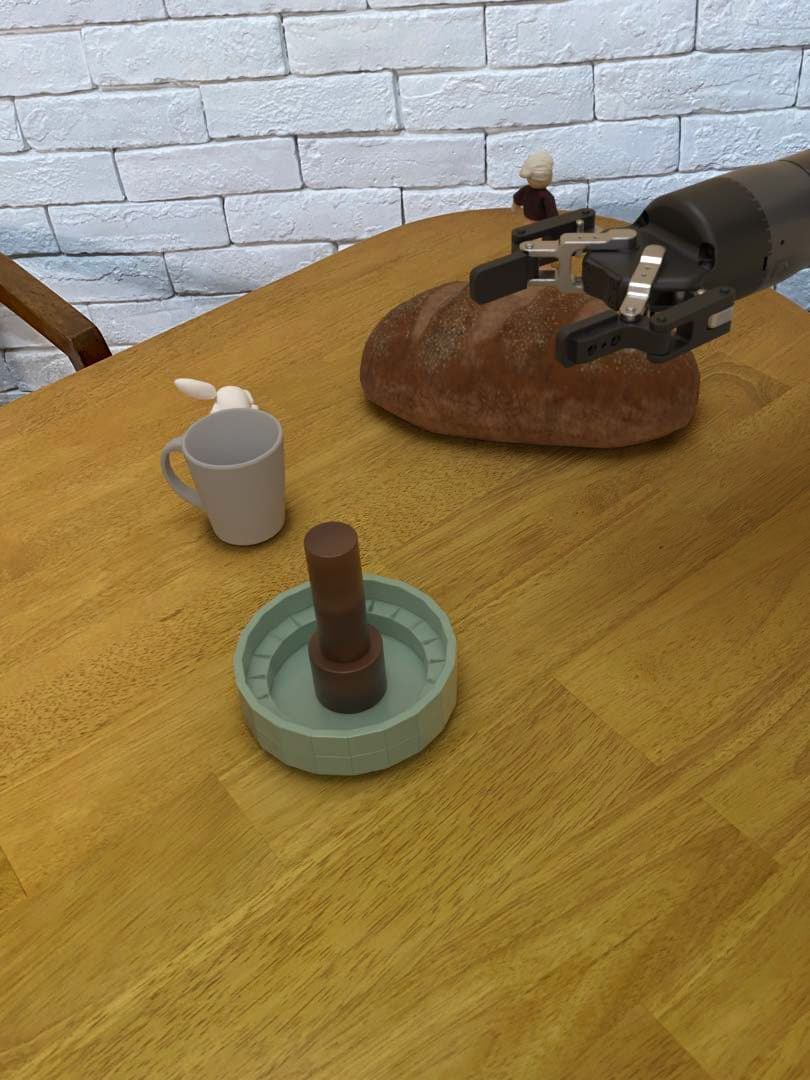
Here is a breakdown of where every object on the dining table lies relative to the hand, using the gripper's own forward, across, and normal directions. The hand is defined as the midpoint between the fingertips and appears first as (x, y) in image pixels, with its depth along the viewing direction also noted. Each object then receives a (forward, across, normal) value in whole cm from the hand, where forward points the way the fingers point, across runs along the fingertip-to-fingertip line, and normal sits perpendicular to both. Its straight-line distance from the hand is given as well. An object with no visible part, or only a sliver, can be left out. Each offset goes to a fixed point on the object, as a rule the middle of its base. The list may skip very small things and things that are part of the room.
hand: (514, 318), depth 64 cm
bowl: (+13, 0, +24) cm, 27 cm away
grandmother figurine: (-31, -40, +24) cm, 56 cm away
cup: (+12, -21, +24) cm, 34 cm away
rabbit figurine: (+8, -33, +24) cm, 42 cm away
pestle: (+13, 0, +23) cm, 27 cm away
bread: (-16, -21, +24) cm, 36 cm away
